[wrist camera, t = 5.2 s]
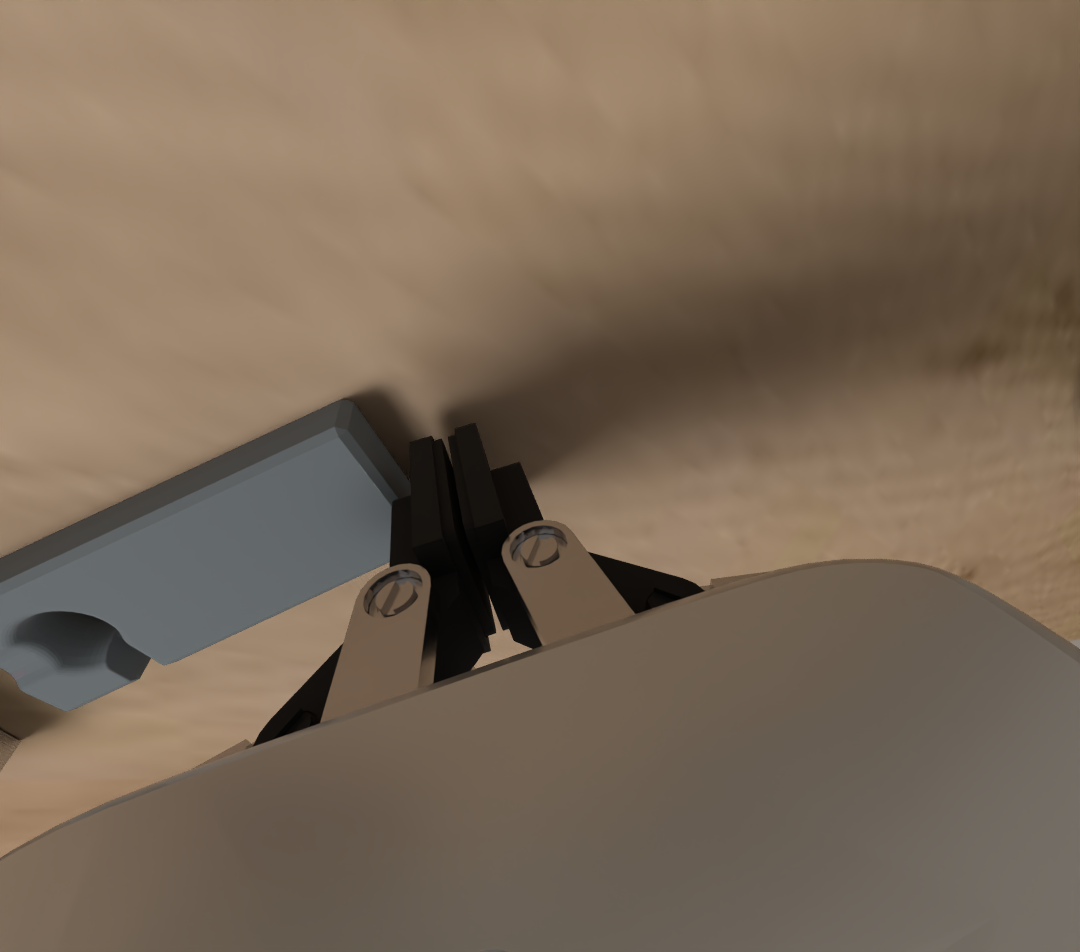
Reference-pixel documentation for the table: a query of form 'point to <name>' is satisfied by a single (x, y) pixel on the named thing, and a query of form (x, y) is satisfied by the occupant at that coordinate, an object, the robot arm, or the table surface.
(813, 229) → the table surface
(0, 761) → the metal hinge
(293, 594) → the bracket
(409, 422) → the table surface
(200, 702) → the table surface
